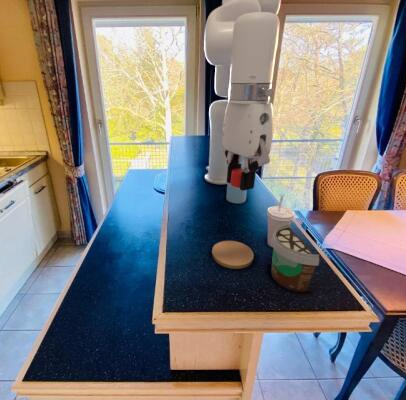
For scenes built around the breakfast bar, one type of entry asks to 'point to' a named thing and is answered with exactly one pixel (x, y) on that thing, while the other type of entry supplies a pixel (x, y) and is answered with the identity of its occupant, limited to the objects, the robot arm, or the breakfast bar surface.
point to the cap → (236, 177)
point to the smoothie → (278, 218)
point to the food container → (292, 260)
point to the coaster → (232, 254)
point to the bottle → (236, 190)
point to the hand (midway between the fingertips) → (239, 184)
